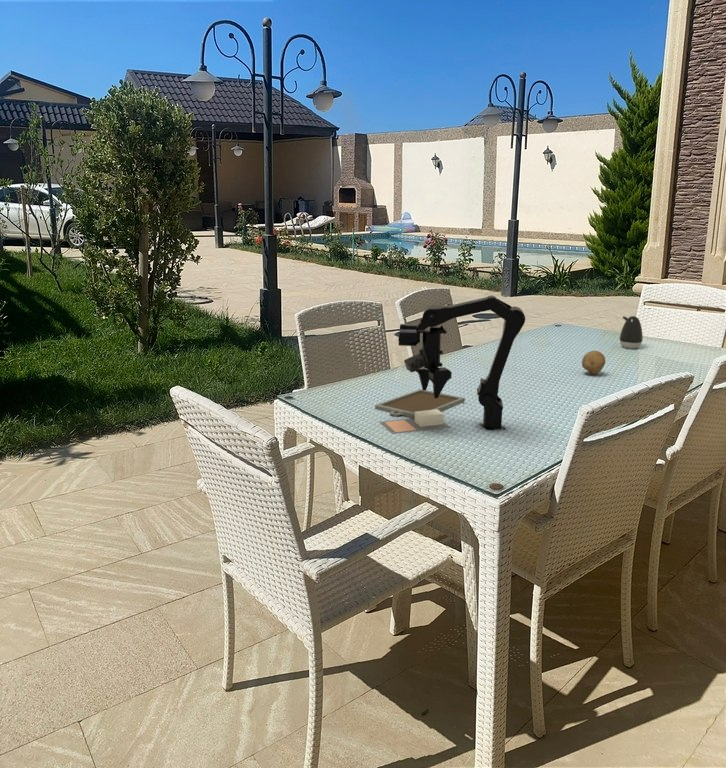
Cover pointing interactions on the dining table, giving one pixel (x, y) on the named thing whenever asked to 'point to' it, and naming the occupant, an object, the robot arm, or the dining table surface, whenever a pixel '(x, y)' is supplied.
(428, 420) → the beige rectangular block
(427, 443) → the dining table surface
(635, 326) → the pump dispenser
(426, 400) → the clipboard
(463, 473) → the dining table surface
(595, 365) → the brown potato
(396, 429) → the mat
